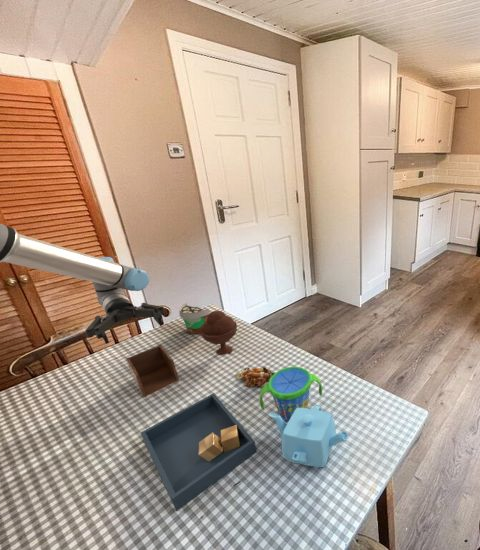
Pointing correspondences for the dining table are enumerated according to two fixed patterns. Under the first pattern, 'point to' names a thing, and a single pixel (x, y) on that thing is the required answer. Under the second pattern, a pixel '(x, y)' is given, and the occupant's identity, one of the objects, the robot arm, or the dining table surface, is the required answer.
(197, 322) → the food container
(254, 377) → the pastry
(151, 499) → the dining table surface
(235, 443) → the block
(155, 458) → the tray
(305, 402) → the snack cup
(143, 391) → the brown open box
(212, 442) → the block
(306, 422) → the teapot
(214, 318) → the ice cream bowl
